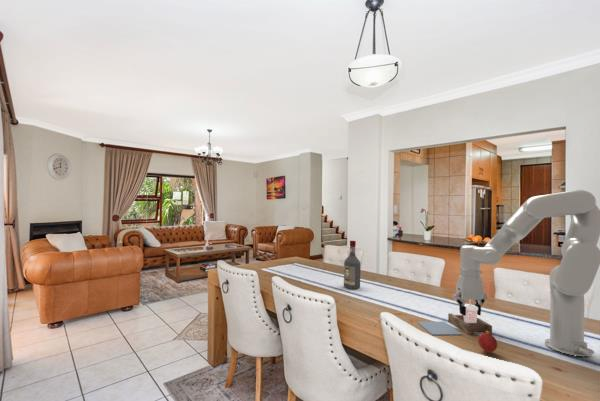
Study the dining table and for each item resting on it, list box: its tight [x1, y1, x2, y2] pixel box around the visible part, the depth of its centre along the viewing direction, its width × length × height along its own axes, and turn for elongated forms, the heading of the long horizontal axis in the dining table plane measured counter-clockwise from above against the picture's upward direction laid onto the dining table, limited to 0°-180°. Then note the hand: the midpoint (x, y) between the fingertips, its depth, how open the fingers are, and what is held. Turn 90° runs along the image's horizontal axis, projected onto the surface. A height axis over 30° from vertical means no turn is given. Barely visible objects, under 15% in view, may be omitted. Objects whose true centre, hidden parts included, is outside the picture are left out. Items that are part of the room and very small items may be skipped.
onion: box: [477, 331, 498, 354], centre depth 106 cm, size 6×6×8 cm
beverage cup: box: [464, 300, 478, 323], centre depth 128 cm, size 6×6×14 cm
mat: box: [416, 321, 463, 336], centre depth 126 cm, size 13×13×1 cm
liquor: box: [343, 240, 361, 290], centre depth 188 cm, size 9×9×30 cm
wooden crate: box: [447, 313, 493, 335], centre depth 128 cm, size 14×11×4 cm
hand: (470, 313), depth 128 cm, fingers closed on beverage cup, 6 cm apart
